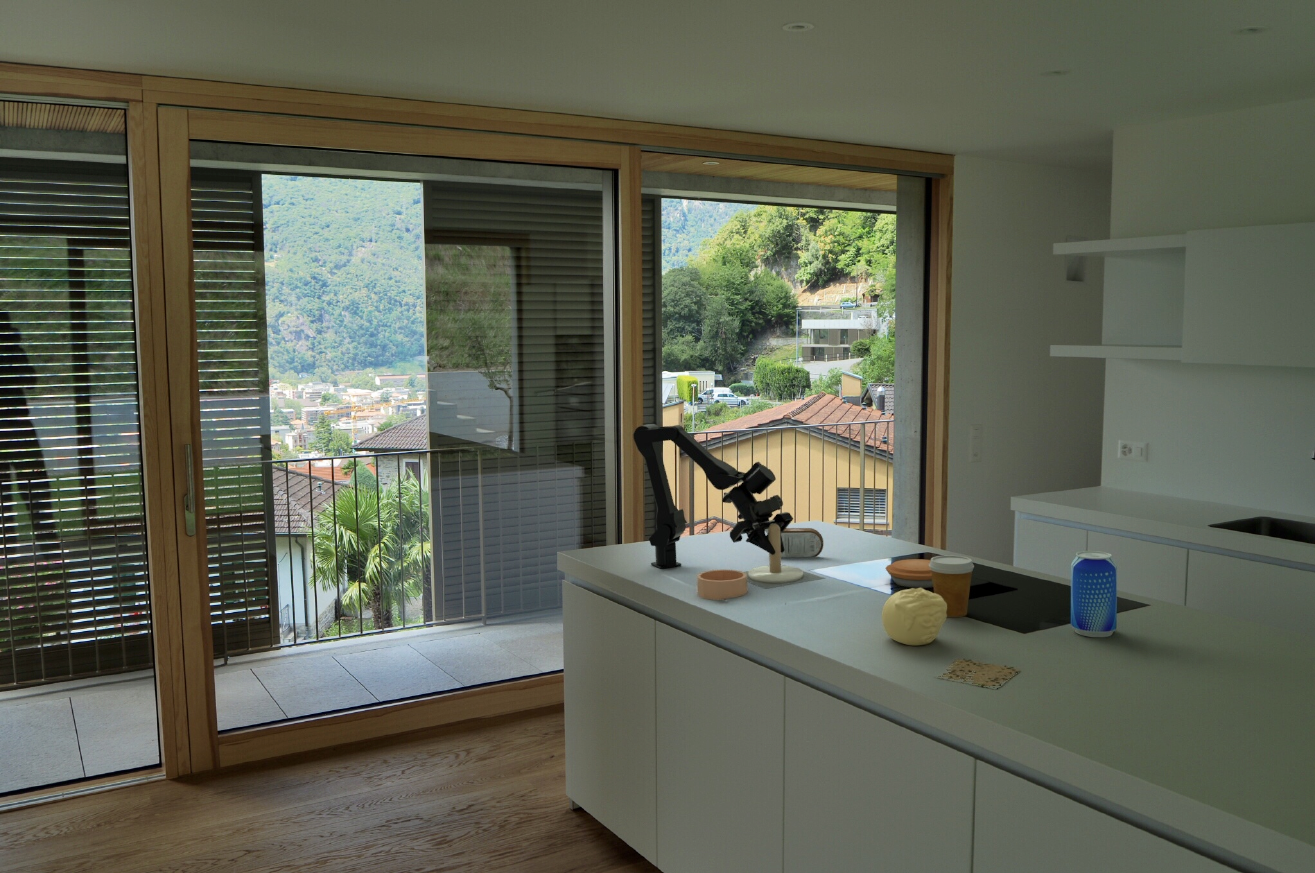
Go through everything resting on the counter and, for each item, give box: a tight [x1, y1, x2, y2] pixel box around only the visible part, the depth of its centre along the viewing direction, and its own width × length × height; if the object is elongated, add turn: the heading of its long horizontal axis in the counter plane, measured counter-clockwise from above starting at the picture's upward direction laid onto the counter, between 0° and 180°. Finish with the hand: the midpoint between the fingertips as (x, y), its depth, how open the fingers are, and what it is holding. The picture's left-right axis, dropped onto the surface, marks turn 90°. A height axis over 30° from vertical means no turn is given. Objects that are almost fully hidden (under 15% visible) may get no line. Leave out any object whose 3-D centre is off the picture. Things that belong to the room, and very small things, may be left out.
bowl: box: [696, 569, 749, 601], centre depth 240 cm, size 12×12×4 cm
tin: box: [781, 527, 824, 558], centre depth 275 cm, size 15×3×8 cm, turn 84°
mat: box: [743, 564, 826, 590], centre depth 253 cm, size 18×18×1 cm
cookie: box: [938, 658, 1021, 688], centre depth 177 cm, size 12×12×1 cm
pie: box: [885, 558, 933, 589], centre depth 244 cm, size 15×16×5 cm
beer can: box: [1070, 550, 1118, 638], centre depth 198 cm, size 8×8×16 cm
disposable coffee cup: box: [929, 554, 975, 618], centre depth 215 cm, size 10×10×12 cm
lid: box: [748, 524, 804, 583], centre depth 252 cm, size 14×14×14 cm
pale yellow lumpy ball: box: [881, 588, 948, 646], centre depth 197 cm, size 11×12×11 cm
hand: (778, 552), depth 251 cm, fingers closed on lid, 3 cm apart
